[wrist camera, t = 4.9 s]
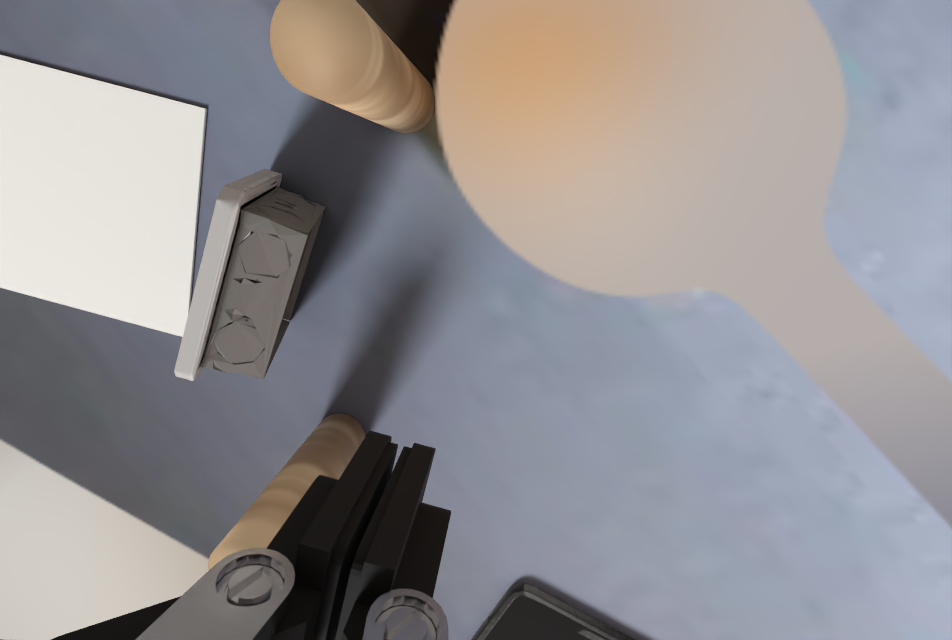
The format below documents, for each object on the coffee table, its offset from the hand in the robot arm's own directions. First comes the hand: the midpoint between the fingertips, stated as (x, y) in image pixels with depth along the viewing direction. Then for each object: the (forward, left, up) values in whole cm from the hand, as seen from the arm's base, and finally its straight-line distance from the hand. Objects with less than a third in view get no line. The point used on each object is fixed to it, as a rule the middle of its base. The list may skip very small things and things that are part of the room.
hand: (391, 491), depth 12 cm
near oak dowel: (-10, -6, -18) cm, 22 cm away
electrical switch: (0, -11, -19) cm, 22 cm away
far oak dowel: (+11, -6, -18) cm, 22 cm away
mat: (0, -25, -18) cm, 31 cm away
